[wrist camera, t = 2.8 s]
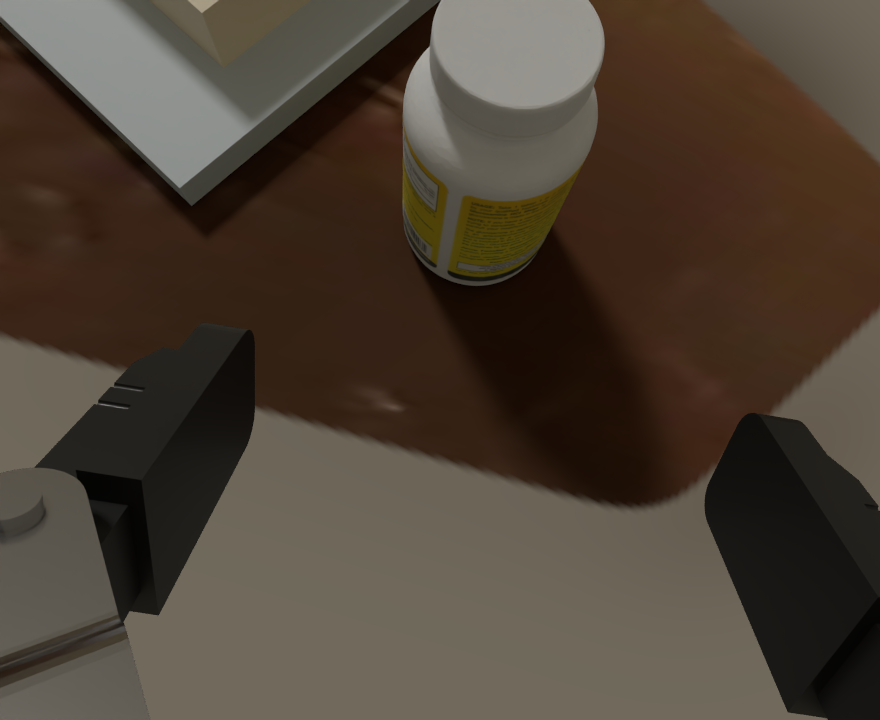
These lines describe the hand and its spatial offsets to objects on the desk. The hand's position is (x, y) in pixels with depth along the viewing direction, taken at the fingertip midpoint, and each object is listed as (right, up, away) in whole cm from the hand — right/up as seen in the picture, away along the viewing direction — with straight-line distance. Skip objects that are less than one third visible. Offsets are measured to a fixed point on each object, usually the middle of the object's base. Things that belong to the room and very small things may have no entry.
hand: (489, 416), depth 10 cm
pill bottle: (+1, +7, +17) cm, 18 cm away
